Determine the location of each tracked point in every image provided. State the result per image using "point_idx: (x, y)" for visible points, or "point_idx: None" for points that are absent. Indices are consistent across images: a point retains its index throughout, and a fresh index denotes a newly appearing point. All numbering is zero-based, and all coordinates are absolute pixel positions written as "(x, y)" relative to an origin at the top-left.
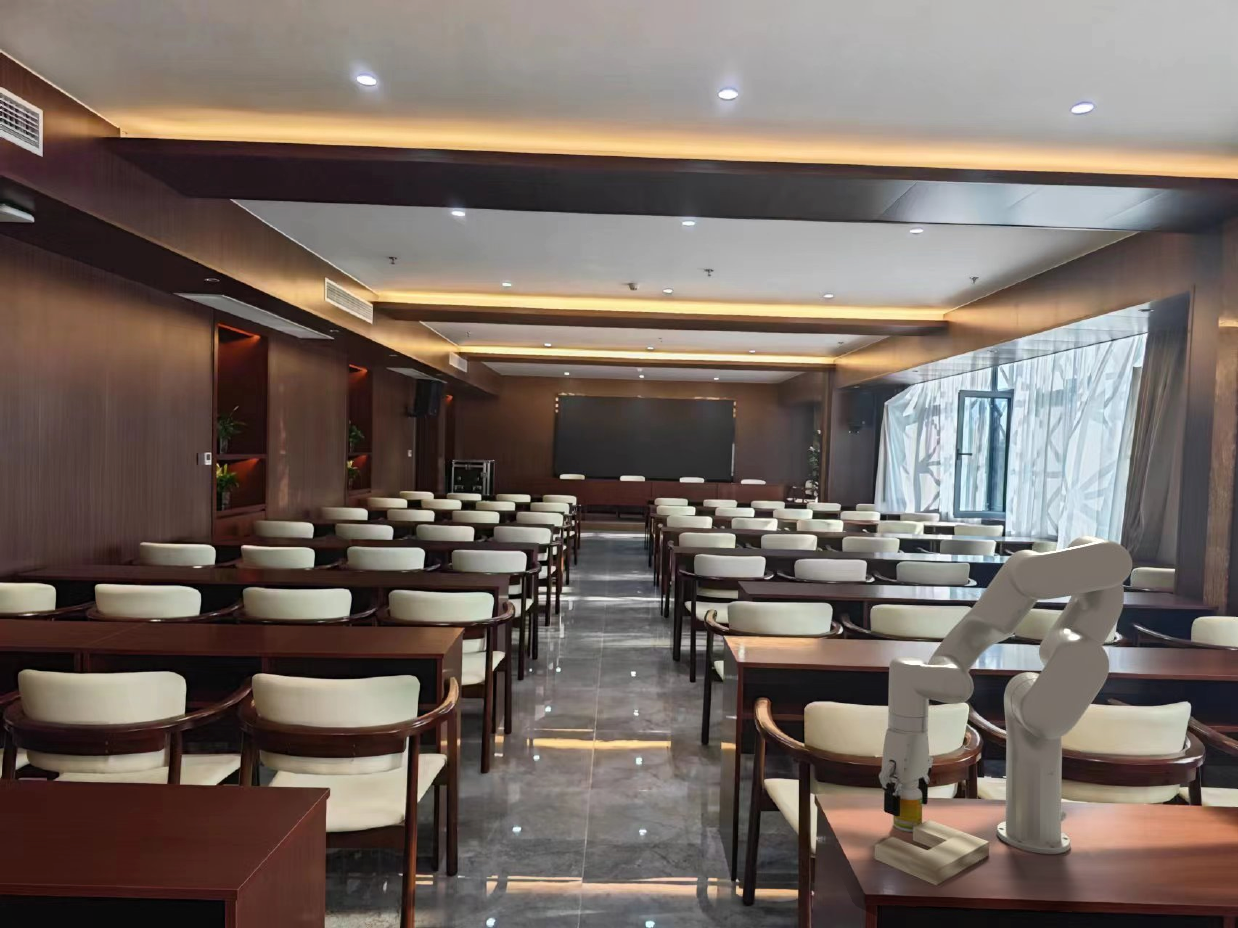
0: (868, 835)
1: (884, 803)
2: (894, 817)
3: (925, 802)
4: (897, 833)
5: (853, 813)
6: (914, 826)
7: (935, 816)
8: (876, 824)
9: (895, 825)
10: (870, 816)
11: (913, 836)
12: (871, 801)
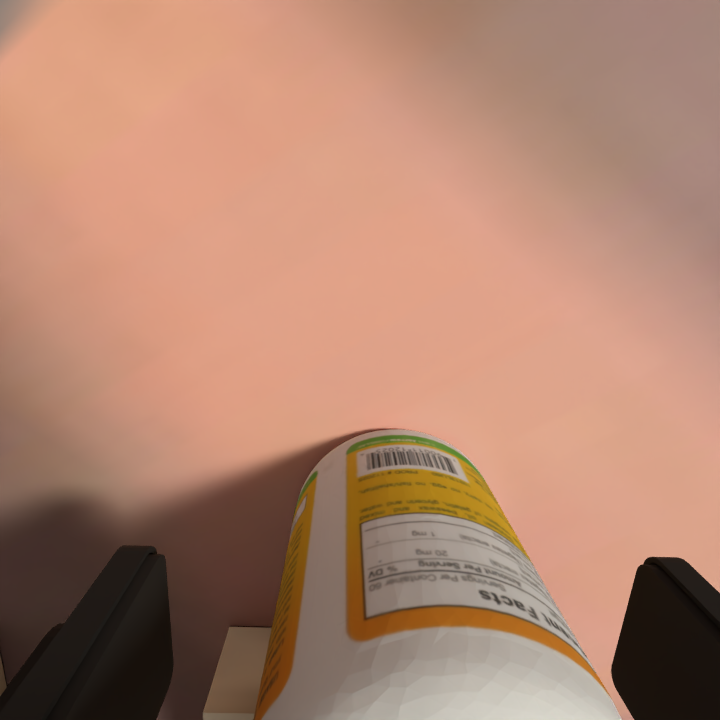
0: (30, 417)
1: (78, 611)
2: (306, 502)
3: (628, 693)
4: (239, 522)
5: (283, 86)
6: (225, 711)
7: (701, 542)
8: (248, 353)
9: (304, 483)
10: (347, 234)
11: (221, 653)
12: (672, 39)
